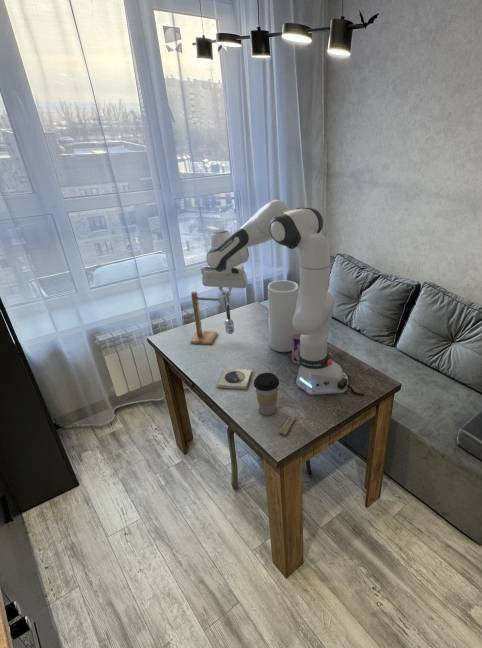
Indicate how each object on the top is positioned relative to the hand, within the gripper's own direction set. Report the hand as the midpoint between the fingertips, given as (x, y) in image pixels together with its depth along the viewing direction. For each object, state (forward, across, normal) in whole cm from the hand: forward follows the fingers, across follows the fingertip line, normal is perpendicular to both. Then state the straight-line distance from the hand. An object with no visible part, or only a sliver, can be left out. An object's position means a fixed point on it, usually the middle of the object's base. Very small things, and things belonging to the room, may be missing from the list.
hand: (226, 295), depth 184 cm
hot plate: (+25, +10, -32) cm, 41 cm away
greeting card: (+25, +39, -16) cm, 49 cm away
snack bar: (+25, +35, -58) cm, 73 cm away
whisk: (+21, 0, 0) cm, 21 cm away
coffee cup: (+25, +27, -50) cm, 62 cm away
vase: (+25, +27, -2) cm, 36 cm away
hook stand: (+24, -11, 0) cm, 27 cm away
